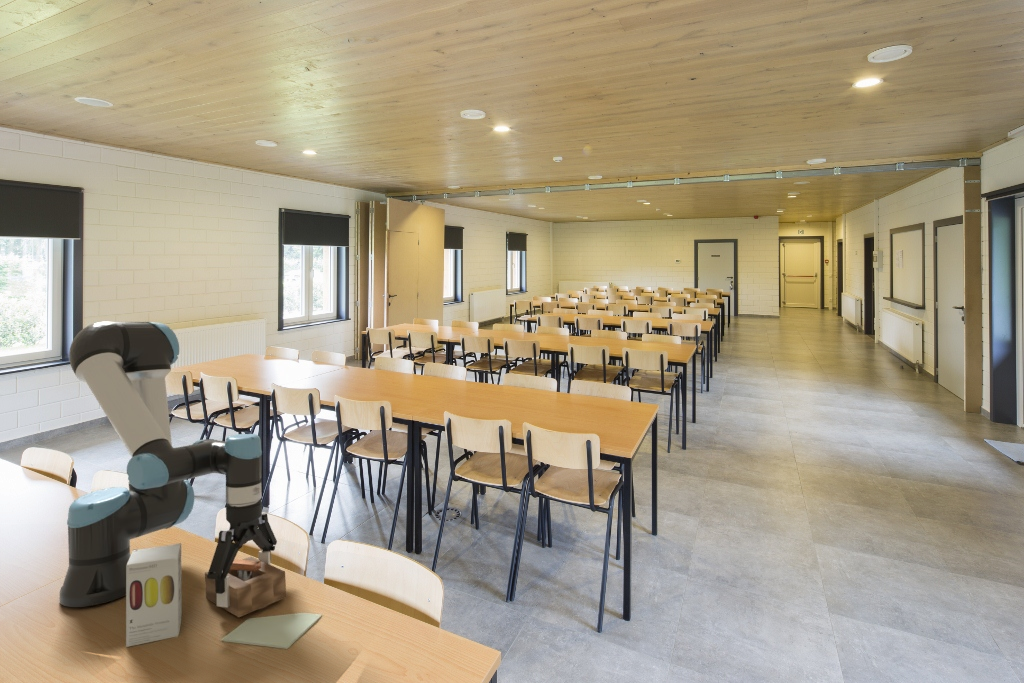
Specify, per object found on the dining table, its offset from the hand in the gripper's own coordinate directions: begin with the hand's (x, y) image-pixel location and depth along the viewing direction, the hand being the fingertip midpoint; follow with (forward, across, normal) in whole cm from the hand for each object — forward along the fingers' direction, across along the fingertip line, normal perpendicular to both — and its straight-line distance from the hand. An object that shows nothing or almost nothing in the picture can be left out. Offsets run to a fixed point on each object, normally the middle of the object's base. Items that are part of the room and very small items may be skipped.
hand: (245, 592), depth 129 cm
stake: (+3, 0, 0) cm, 3 cm away
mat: (+3, -8, -13) cm, 16 cm away
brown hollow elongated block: (+1, 0, 0) cm, 1 cm away
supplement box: (+3, -14, +11) cm, 18 cm away
